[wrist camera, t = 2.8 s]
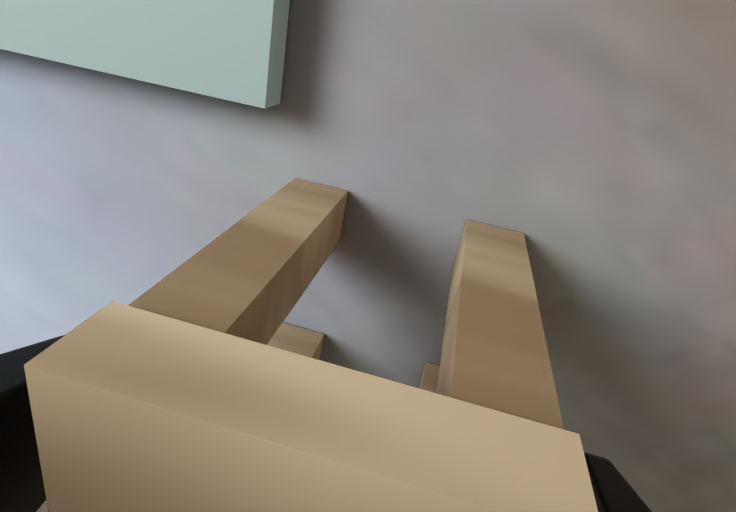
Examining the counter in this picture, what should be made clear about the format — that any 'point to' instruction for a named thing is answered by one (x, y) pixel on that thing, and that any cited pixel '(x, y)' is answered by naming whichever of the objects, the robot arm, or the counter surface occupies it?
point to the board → (160, 41)
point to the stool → (303, 390)
